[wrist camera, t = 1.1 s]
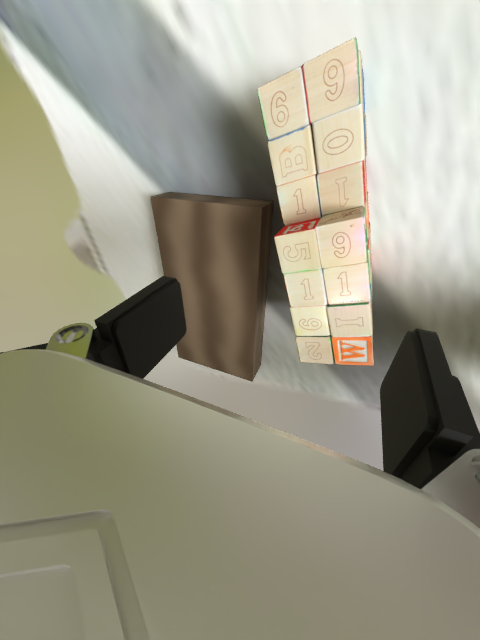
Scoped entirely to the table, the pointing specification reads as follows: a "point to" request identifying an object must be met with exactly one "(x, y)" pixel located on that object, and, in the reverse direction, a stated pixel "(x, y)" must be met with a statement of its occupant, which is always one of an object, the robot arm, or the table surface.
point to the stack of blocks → (323, 203)
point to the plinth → (218, 275)
